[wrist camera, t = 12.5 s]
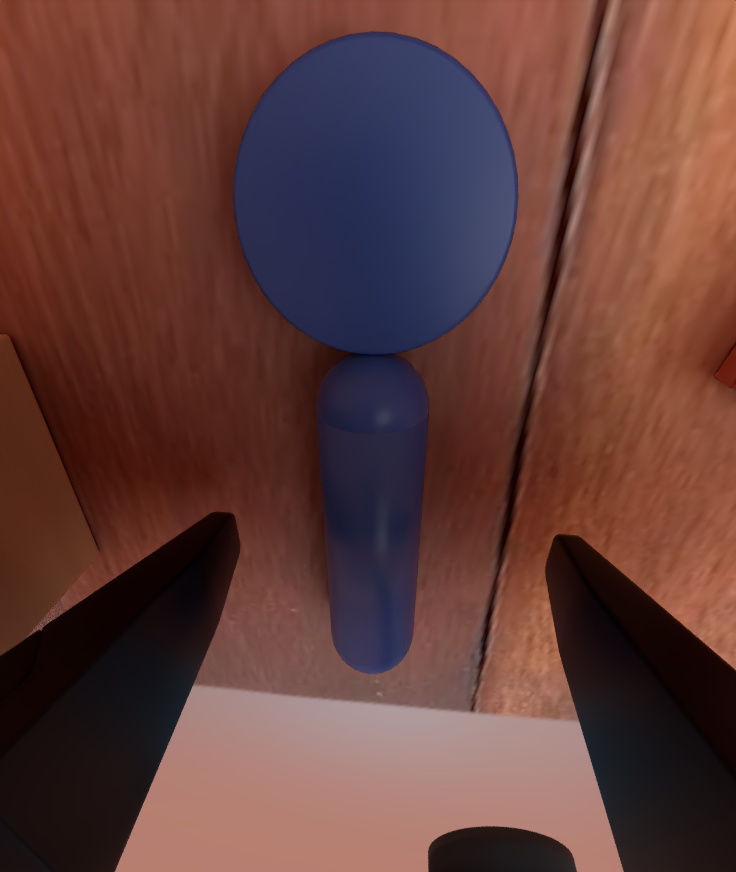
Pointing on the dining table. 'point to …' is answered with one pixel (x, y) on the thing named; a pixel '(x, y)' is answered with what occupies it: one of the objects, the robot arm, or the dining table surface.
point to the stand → (33, 511)
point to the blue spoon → (374, 283)
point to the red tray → (728, 371)
